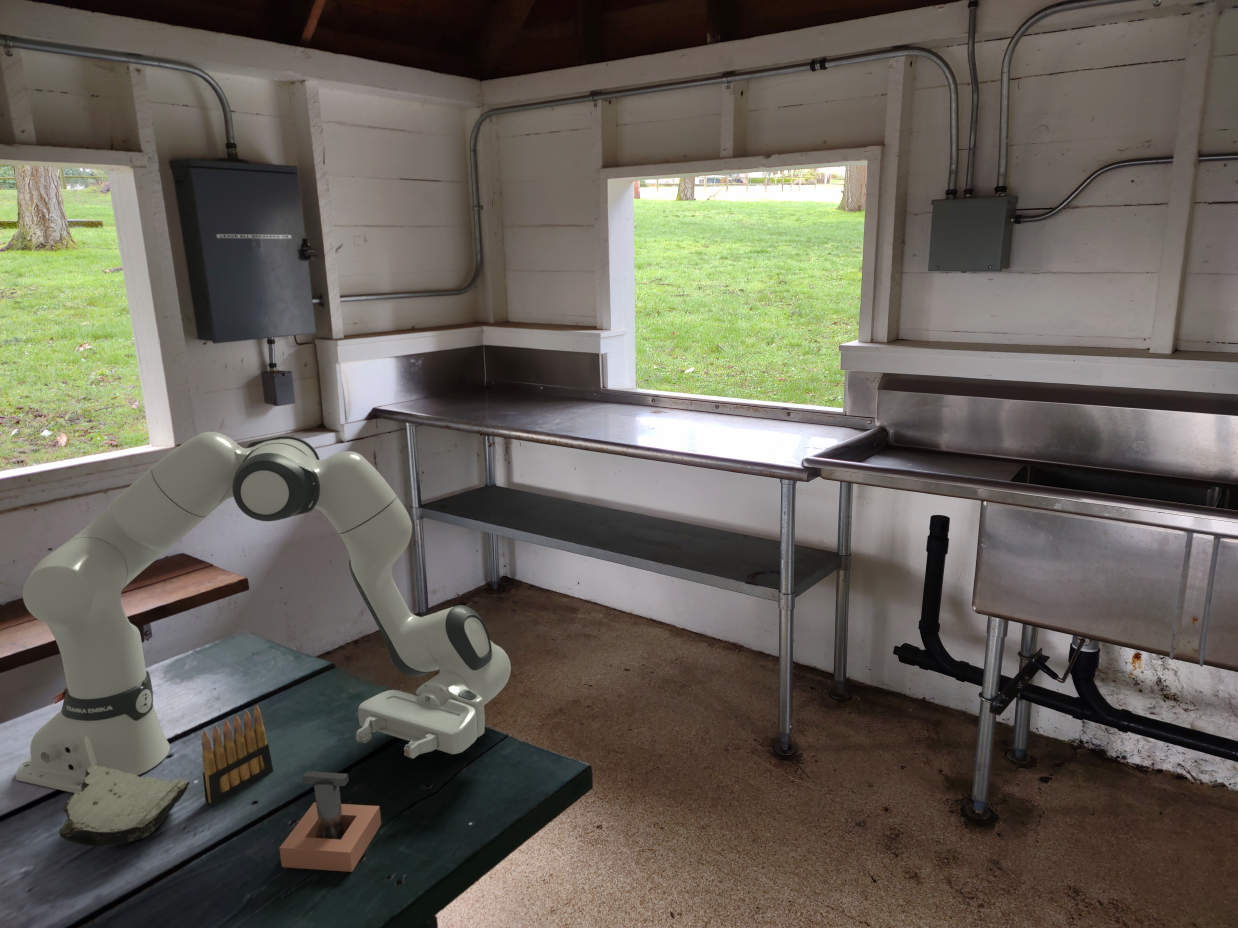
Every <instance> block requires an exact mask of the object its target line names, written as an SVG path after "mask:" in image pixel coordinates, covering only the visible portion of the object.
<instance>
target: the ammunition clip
mask: <svg viewBox="0 0 1238 928" xmlns="http://www.w3.org/2000/svg"><path fill="white" fill-rule="evenodd" d="M253 709H254V710H253V721H252V717H251V714H250V712H249V711H248V710H247V709H246V710H244V713H243V727H242V724H241V719H240V718H239V716H238V715H237V714H236V715H234V718H233V723H232V724H233V725H232V726H233V734H232V728H231V725H230V723H229V721H228V720H227V719H226V720H224V722H223V726H222V734H223V741H222V735H221V731H220V729H219V728H218V726H217V725H213V729H212V742H211V739H210V736H209V734H208V732H207V731H206V730H203V732H202V735H201V745H202V746H201V747H202V756H201V757H202V766H203V772H202V777H203V788H204V789H203V790H204V798H205V799H204V800H205V803H207V804H208V805H210V806H213V807H214V806H216V805H218V804H220V803H221V802H223V801H225V800H226V799H228V798H230V797H232V796H234V795H236V794H237V793H238V792H240V791H242V790H244V789H245V788H247V787H248V786H251V785H252V784H255V783H256V782H257V781H260V780H261V779H263V778H264V777H266V776H268V775H270V774H271V773H273V772H274V766H273V761H272V756H271V751H270V750H271V749H270V746H269V743H268V742H267V735H266V729H265V726H264V722H263V717H262V711H261V710H260V707H259V705H257V704H255V705H254V708H253ZM253 725H254V726H253ZM243 730H244V732H243ZM212 745H213V748H212Z"/></svg>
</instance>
